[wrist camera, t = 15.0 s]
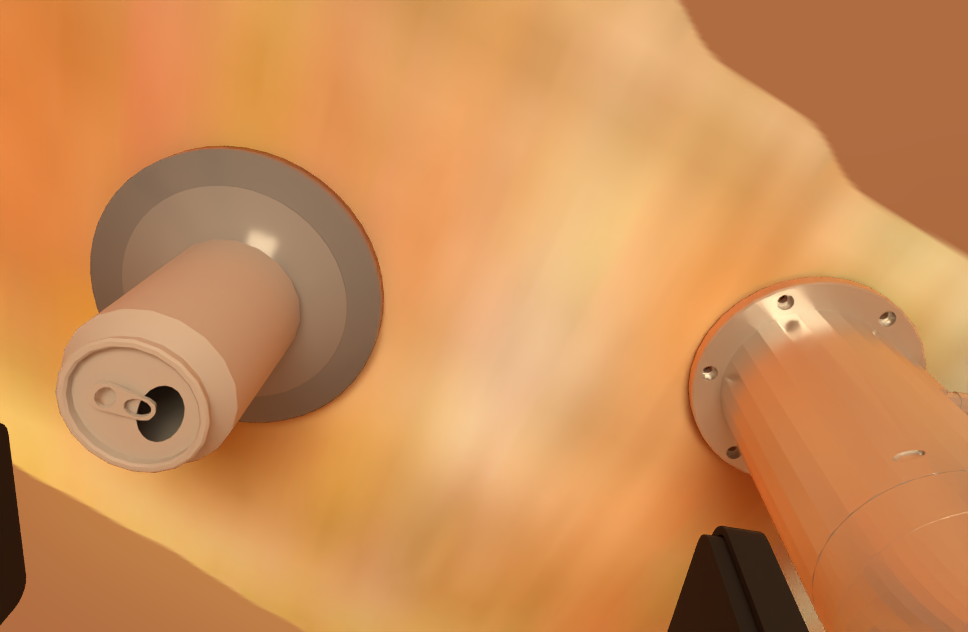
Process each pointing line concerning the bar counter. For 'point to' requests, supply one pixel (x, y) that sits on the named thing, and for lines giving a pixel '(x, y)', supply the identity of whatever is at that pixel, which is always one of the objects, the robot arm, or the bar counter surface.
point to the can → (178, 357)
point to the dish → (272, 229)
